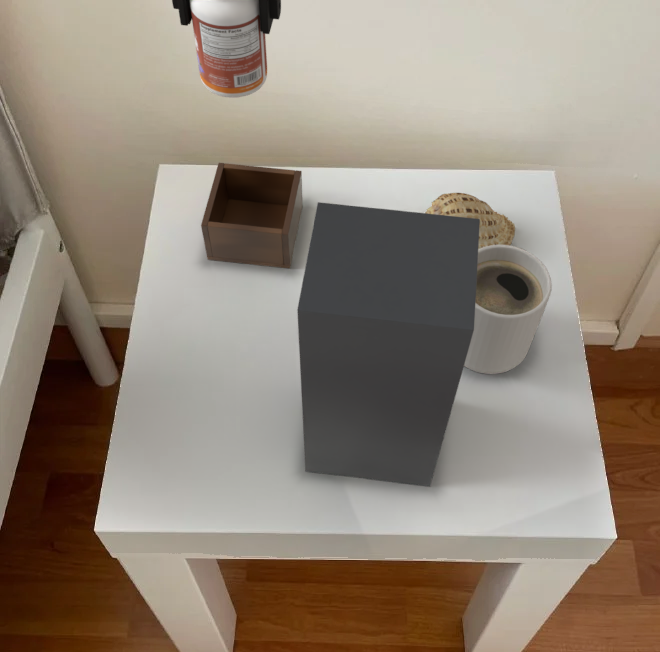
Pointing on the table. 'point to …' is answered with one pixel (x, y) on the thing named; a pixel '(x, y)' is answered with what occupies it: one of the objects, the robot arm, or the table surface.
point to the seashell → (476, 217)
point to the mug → (506, 307)
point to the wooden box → (253, 215)
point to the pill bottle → (229, 46)
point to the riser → (383, 338)
